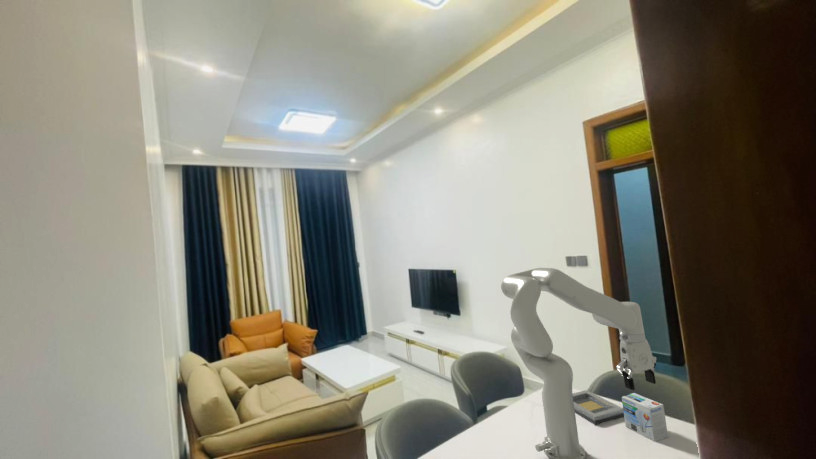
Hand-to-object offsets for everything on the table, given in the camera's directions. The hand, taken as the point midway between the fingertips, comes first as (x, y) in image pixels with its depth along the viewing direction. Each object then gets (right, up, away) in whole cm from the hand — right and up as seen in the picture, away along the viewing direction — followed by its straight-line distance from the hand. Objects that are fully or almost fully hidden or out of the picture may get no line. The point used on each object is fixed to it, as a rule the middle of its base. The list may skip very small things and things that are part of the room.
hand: (640, 385), depth 112 cm
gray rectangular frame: (-9, -18, +16) cm, 25 cm away
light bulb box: (+1, -16, -1) cm, 16 cm away
